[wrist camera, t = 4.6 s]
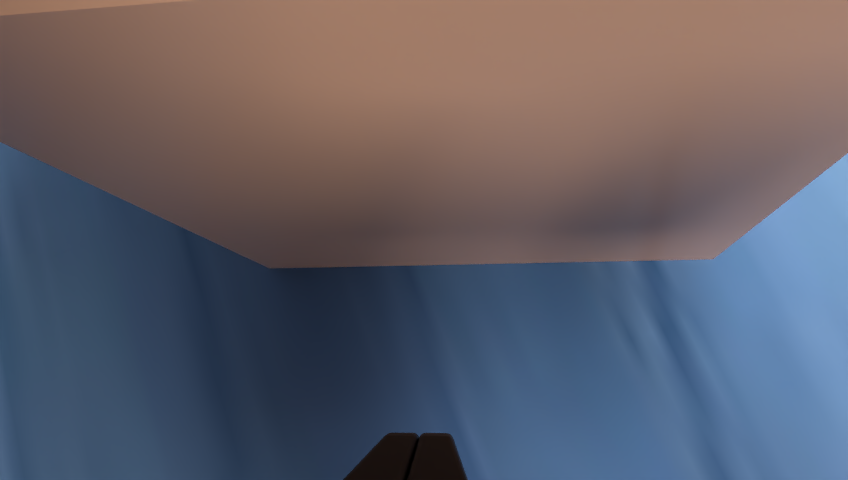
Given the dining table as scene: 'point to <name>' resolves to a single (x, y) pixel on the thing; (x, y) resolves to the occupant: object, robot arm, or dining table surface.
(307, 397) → the dining table surface
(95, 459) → the dining table surface
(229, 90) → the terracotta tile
